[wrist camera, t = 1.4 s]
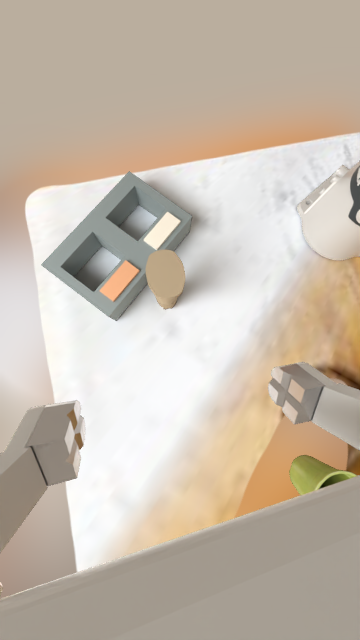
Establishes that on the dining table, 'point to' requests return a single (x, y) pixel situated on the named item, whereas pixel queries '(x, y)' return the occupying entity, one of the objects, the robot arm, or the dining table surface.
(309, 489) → the plant pot
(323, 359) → the dining table surface
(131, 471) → the dining table surface
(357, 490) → the robot arm
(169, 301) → the handle
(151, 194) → the socket board
